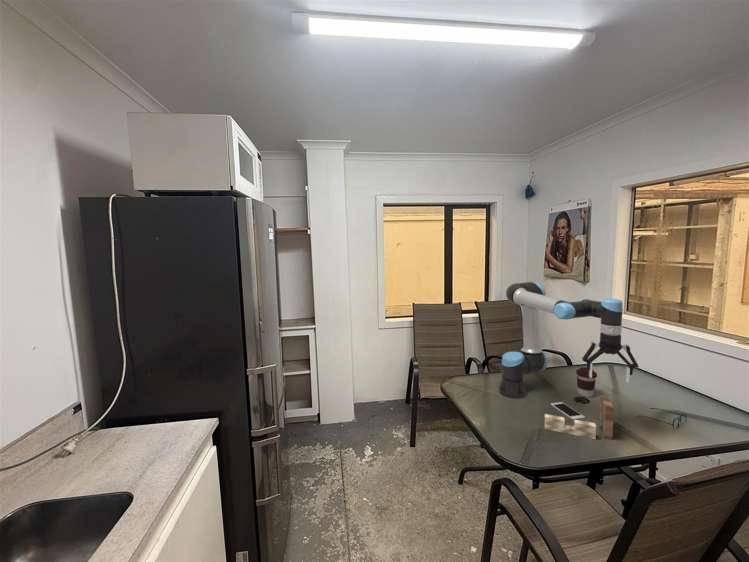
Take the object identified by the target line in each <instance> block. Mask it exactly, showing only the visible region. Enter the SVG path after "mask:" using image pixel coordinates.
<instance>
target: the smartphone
mask: <svg viewBox="0 0 749 562" xmlns="http://www.w3.org/2000/svg"><path fill="white" fill-rule="evenodd" d="M550 405H551V406H553V408H555V409H556V410H558V411H559V412H561V413H563V414H564V415H565V416H567V417H568V418H570V419H572V420H573V421H574V419H575V420H579V419H580V420H581V419H585V418H586V416H585V415H583V414H582V413H580V412H578V411H576V410H575V409H573V408H572V407H570V406H568V405H567V404H565V403H564V402H562V401H560V402H552V403H550Z"/></svg>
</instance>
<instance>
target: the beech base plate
mask: <svg viewBox="0 0 749 562" xmlns="http://www.w3.org/2000/svg"><path fill="white" fill-rule="evenodd" d="M565 423H566V422H565V417H564V416H558V415H553V414H547V413H545V414H544V429H545V430H547V431H548V430H549V431H553V432H559V433H561V434H568V435H572V436H577V437H583V438H586V439H587V438H588V439H592V440H596V437H597V425H596V422H590V421H586V420H585V421H584V420H581V419H580V420H579V419H574V420H573V425H567V424H565Z"/></svg>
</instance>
